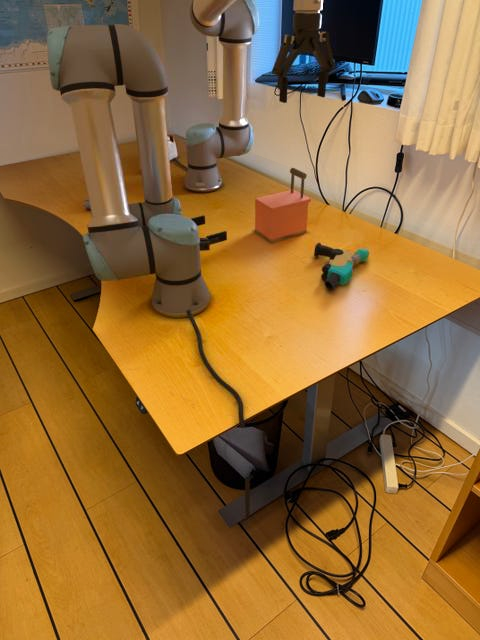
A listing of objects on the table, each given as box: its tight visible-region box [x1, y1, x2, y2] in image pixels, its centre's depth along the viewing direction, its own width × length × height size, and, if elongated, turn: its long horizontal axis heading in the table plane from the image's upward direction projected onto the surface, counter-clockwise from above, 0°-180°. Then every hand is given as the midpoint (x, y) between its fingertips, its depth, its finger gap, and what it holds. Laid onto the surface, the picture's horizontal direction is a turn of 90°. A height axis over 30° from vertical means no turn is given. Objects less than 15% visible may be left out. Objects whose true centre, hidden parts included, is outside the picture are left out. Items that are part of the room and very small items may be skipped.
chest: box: [254, 201, 309, 243], centre depth 156 cm, size 14×10×10 cm
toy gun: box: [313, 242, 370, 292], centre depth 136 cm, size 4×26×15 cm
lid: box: [254, 167, 312, 211], centre depth 151 cm, size 15×10×9 cm, turn 120°
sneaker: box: [167, 134, 179, 162], centre depth 214 cm, size 10×29×12 cm, turn 163°
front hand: (215, 227), depth 147 cm, fingers open, 13 cm apart
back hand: (302, 99), depth 138 cm, fingers open, 13 cm apart
